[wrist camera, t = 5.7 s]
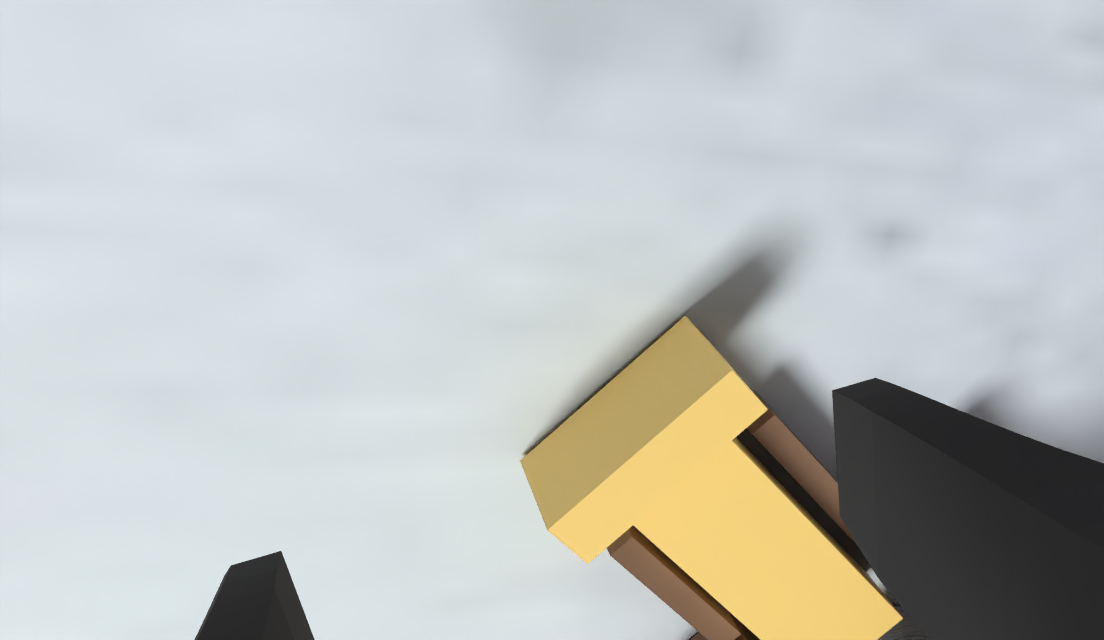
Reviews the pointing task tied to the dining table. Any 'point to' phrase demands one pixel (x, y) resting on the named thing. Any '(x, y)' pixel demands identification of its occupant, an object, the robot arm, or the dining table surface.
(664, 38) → the dining table surface
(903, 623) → the gray metallic cylinder
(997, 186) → the dining table surface
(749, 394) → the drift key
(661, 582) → the socket
